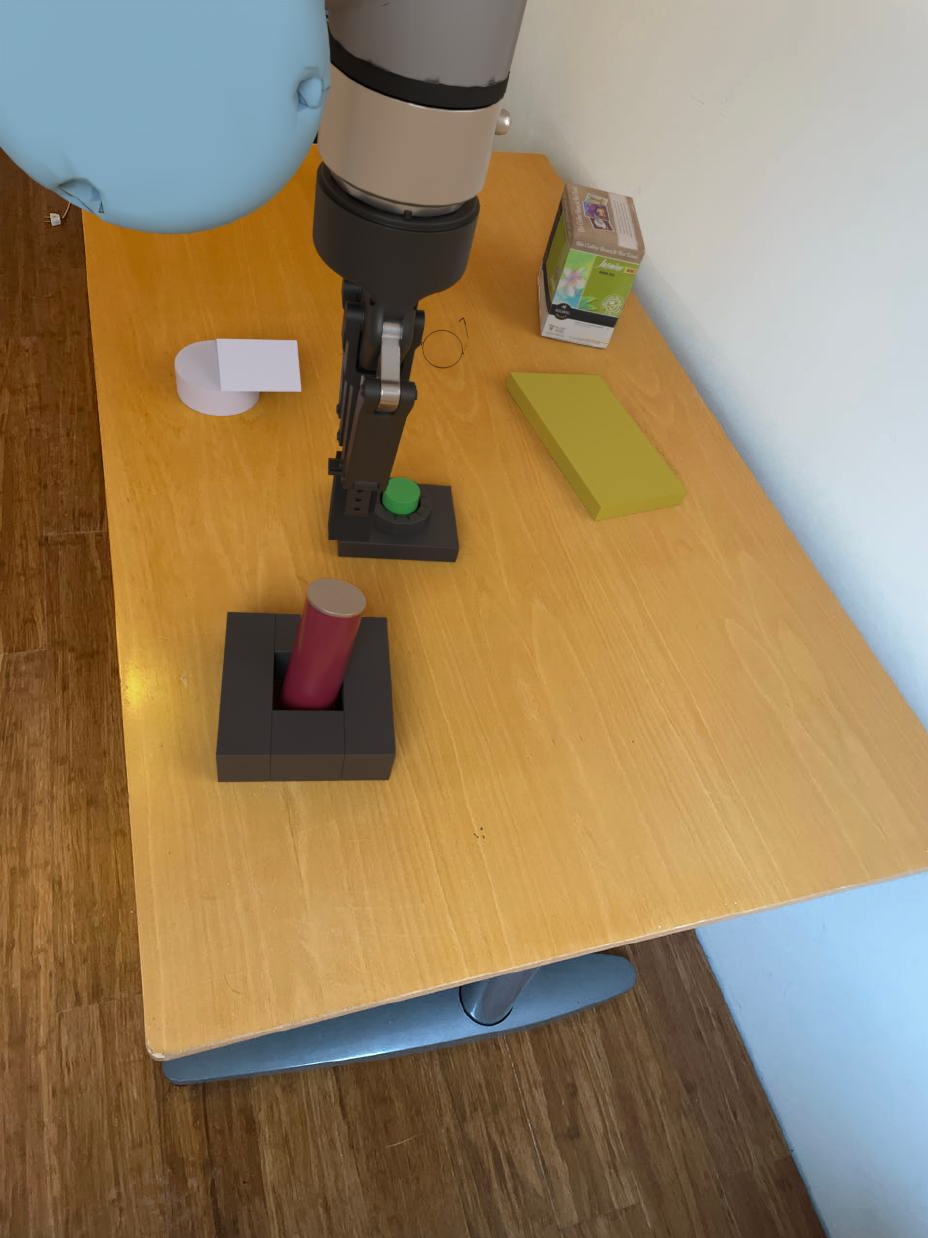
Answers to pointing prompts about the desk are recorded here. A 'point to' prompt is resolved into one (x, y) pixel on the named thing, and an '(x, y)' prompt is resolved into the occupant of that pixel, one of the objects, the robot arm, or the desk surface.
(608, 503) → the flat olive board
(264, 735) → the square peg hole block
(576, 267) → the tea box
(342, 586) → the dark red cylinder
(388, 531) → the panel
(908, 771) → the desk surface
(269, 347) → the wedge on round base
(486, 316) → the desk surface
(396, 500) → the button
